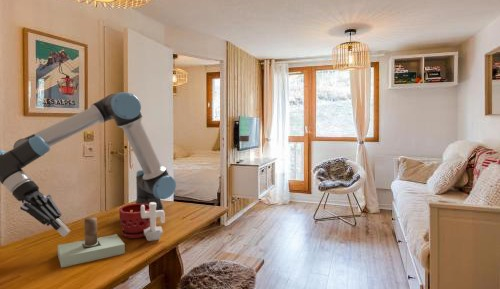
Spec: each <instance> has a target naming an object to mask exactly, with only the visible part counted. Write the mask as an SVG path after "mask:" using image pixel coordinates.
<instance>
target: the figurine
mask: <svg viewBox="0 0 500 289" xmlns="http://www.w3.org/2000/svg"><path fill="white" fill-rule="evenodd" d="M149 208H150V211H145V206H144V205H141V218H143V219H144V218H150V227H148V228H146V229H143V230H144V234H145V236H144V237H145V239H146V240H147V241H148V242H151V241H159V240H160V239H161V237H162V234H163V232H164V231H163V228H162V226H161V225H160V226H157V218H160V223H161V224H164V223H165V222H166V218H165V217H166V215H165V214H166V213H165V210H164V209H163V210H157V211H156V203H155V202H150V203H149Z"/></svg>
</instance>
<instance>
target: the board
mask: <svg viewBox="0 0 500 289" xmlns="http://www.w3.org/2000/svg"><path fill="white" fill-rule="evenodd" d="M97 242H98V245H97V246H96V247H92V248H87V249H86V248H85V246H84V244H85V239H84V240H77V241H73V242H69V243H68V242H67V243H62V244H57V256H58V257H57V258H58V261H59V264H60V268H66V267H70V266H75V265H79V264H83V263H89V262H93V261H97V260H101V259H106V258H111V257H114V256H119V255H123V254H126V247H125V246H126V244H125V243H124V241H123V240H122V239H121V237H119V236H118V234H117V233H115V234H110V235H105V236H101V237H97Z"/></svg>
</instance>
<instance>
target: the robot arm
mask: <svg viewBox="0 0 500 289" xmlns="http://www.w3.org/2000/svg"><path fill="white" fill-rule="evenodd" d="M141 110H142V104H141V101H140V99H139V98H138V97H137V96H136V95H135V94H133V93H130V92H126V91H124V92H123V91H121V92H117V93H110V94H108V95H107V96H105V97H103V98H101V99H99V100H98V101H96V102H94V103H91V104H90V107H89V108H87V109H85V110H81V111H80V112H78V113H76V114H74V115H71V116H69V117H68V118H67V117H66V118H65V119H63V120H61V121H59V122H56V123H54V124H52V125H50V126H48V127H45V128H43V129H42V130H39V131H37V132H35V133H33V134H31V135H28V136H26V137H24V138H19V139H18V140H16V141H15V142H14V144H13V148H12V149H10V150H9V151H5V150H3V149H0V183H1V184H2V185H3V186H4V187H5V188H6V190H7V191H8V192H10V193H11V194H12V197H13V198H15V199H16V200H17V202H21V203H22V205H21V206H20V207H19V209H20V210H21V211H24V212H26V213H27V214H29V216H31V217H32V218H34V219H36V220H37V221H38V222H39V223H41V225H44V226H45V225H46V227H47V226H51V227H52V228H53V229H54V230H55V231H57V232H58V234H59V235H61V236H62V237H63V238H64V237H66V236H67V235H68V234H69V233H70V232H71V229H70V228H69V227H68V226H67V225H66V223H65V222H64V221H63V220H62V219H61V218H60V217H62V213H61V211H60V209H59V208H58V207H57V205H56V203H55V202H54V200H53V197H52V195H50V194H47V195H44V193H42V192H41V191H40V190H39V189H40V187H39V186H38V184H36V183H35V181H34V180H32V178H31V177H30V176H29V175H28V174H27V173H26V172H25V171H24V170H23V168H25V167H26V166H29V164H31V163H32V162H35V161H36V160H38V159H39V158H41V157H42V156H45V154H47V153H48V152H50V150H51V148H50V147H52V146H54V145H56V144H57V143H60V142H62V141H64V140H66V139H68V138H71V137H72V136H74V135H77V134H78V133H81V132H83V131H84V130H87V129H89V128H91V127H93V126H95V125H97V124H99V123H100V124H103V123H105V122H108V121H111V120H114V123H115V124H116V126H117V127H118V128H120V129H122V130H123V132H124V135H125V137H126V138H127V141H128V143H129V144H130V148H131V149H132V152H133V153H134V155H135V157H136V159H137V162H138V163H139V166H140V168H141V169H139V170H137V171H136V177H135V178H136V180H135V181H136V200H135V202H134V204H148V205H149V203H150V202H155V203H156V211H157V210H163V211H164V206H163V203H162V200H166V199H168V198H170V197H172V195H173V194H174V193H175V192H176V188H177V184H176V183H177V182H176V180H175V179H174V178H173V177H172V175H169V172H168V171H167V169H166V167H165V166H163V165H161V163H160V160H159V158H158V155H157V154H156V151H155V149H154V148H153V145H152V143H151V141H150V138H149V136H148V134H147V133H146V132H147V131H146V130H145V128H144V125H143V123H142V119H143V115H142V113H141ZM139 211H141V209H139ZM135 212H137V211H135Z"/></svg>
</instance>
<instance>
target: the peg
mask: <svg viewBox="0 0 500 289" xmlns="http://www.w3.org/2000/svg"><path fill="white" fill-rule="evenodd" d="M97 238H98V217H96V216H95V217H94V216H92V217H87V218H84V240H85V244H84V246H85V248H86V249H87V248H92V247H96V246H97V245H98V242H97Z"/></svg>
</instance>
